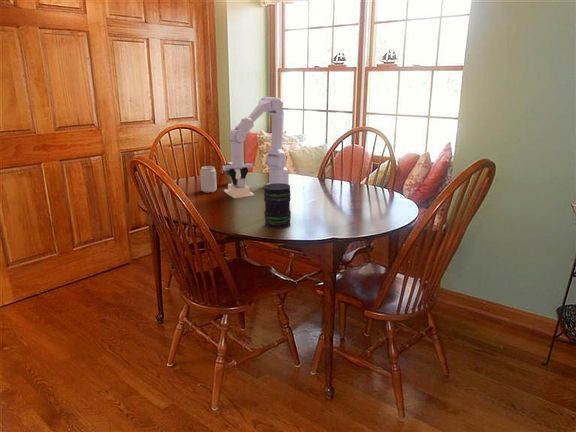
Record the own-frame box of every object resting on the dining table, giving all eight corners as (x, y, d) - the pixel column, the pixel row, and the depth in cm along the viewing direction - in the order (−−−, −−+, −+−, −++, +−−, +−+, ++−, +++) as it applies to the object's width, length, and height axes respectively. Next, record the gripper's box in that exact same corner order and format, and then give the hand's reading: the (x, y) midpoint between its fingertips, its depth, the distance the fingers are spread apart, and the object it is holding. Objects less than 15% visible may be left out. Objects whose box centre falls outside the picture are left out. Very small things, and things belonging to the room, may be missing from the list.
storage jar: (290, 220, 184) (290, 183, 179) (291, 228, 174) (291, 189, 170) (264, 221, 183) (263, 183, 179) (264, 229, 174) (263, 189, 170)
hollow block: (243, 189, 233) (243, 181, 232) (254, 195, 221) (254, 187, 220) (224, 191, 229) (223, 183, 228) (234, 198, 217) (233, 189, 216)
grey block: (239, 187, 229) (238, 175, 227) (245, 191, 222) (244, 178, 220) (232, 188, 227) (231, 176, 225) (238, 192, 220) (237, 179, 219)
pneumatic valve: (224, 183, 246) (223, 160, 242) (243, 180, 252) (242, 158, 249) (229, 185, 242) (228, 162, 238) (248, 182, 248) (248, 159, 245)
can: (218, 189, 234) (217, 165, 231) (214, 193, 227) (213, 168, 223) (203, 189, 235) (202, 165, 231) (199, 192, 228) (197, 168, 224)
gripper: (225, 158, 213) (226, 187, 217) (255, 155, 219) (256, 184, 223) (220, 156, 219) (221, 184, 223) (249, 153, 225) (250, 181, 229)
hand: (238, 184), depth 224 cm, fingers closed on grey block, 3 cm apart
